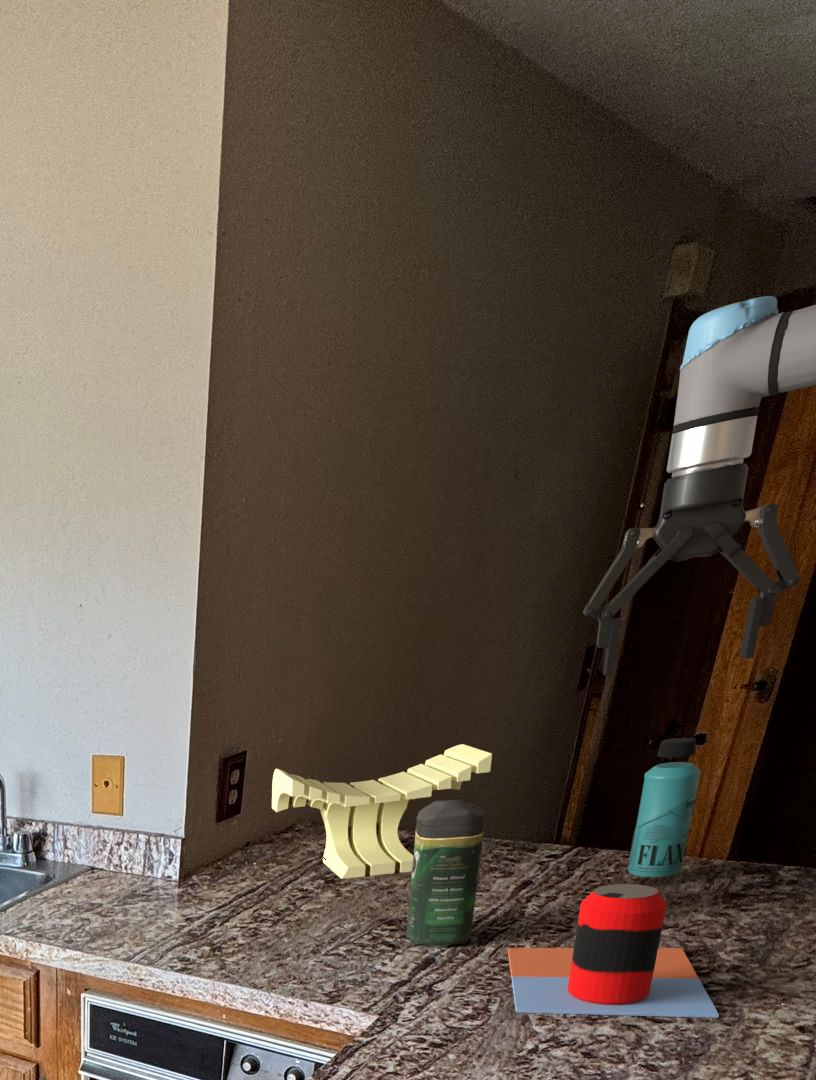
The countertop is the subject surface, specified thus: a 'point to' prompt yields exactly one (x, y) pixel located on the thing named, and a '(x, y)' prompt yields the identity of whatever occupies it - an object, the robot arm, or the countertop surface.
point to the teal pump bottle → (665, 812)
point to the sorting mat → (545, 991)
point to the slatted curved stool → (374, 809)
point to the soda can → (616, 944)
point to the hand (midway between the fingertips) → (675, 666)
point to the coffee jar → (445, 873)
